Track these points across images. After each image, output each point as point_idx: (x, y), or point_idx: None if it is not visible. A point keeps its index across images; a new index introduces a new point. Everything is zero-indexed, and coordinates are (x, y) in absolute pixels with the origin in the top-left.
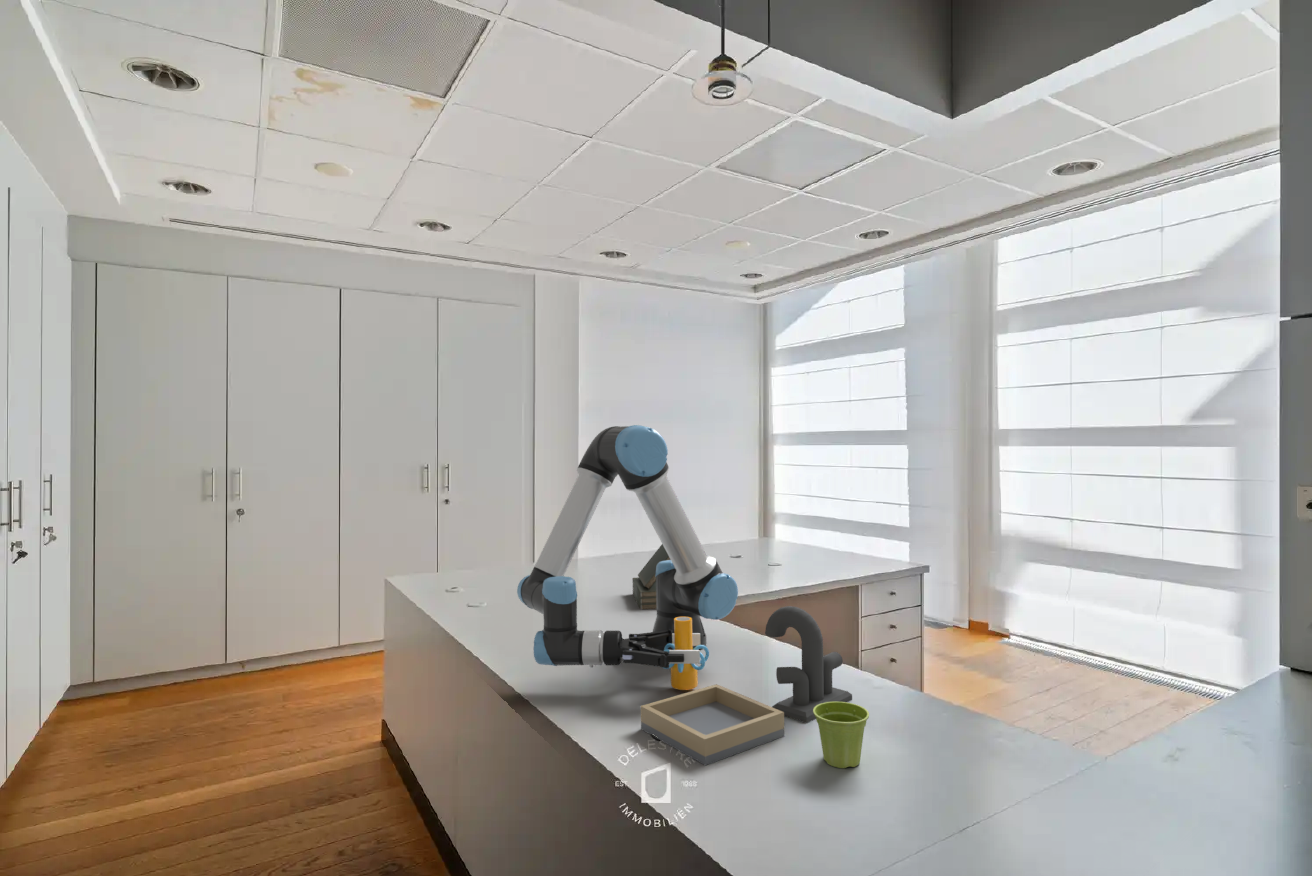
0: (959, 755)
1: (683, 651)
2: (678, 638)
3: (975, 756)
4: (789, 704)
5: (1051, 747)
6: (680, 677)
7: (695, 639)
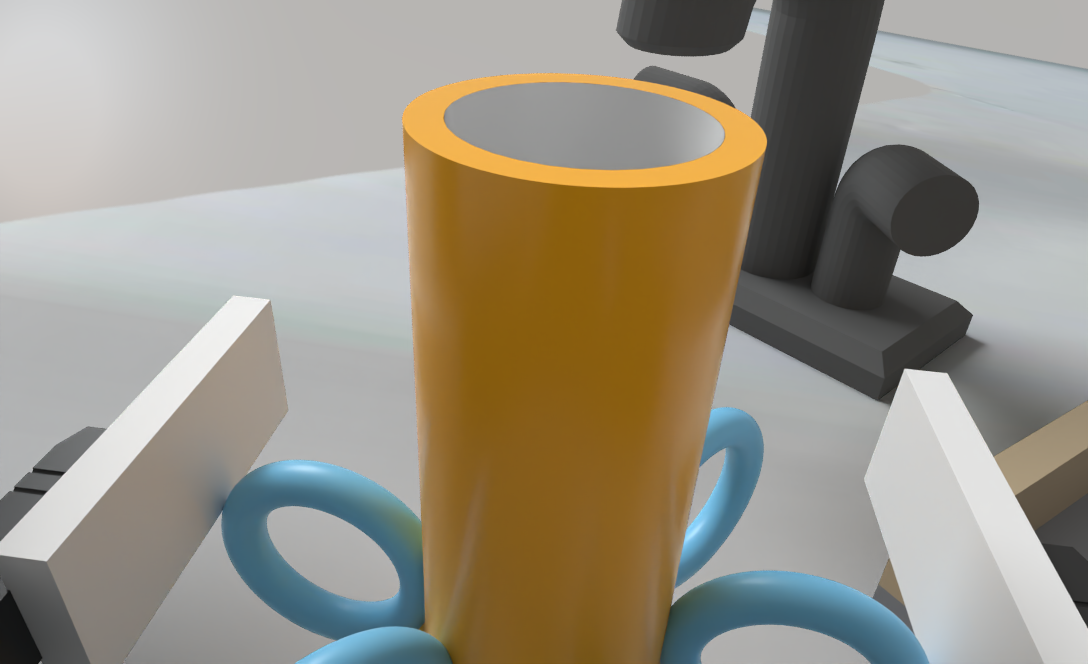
0: (1040, 175)
1: (1019, 516)
2: (690, 461)
3: (1030, 163)
4: (881, 321)
5: (919, 106)
6: None
7: (252, 385)
